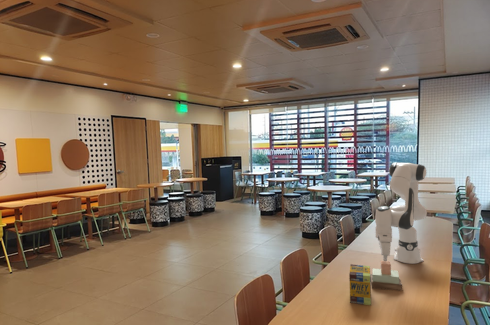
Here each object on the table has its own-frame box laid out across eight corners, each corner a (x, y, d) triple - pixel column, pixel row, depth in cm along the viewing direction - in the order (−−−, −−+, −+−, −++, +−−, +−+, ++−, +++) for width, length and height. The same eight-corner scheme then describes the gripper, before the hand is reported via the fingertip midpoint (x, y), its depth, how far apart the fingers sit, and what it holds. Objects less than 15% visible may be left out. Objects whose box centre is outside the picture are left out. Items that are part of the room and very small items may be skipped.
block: (380, 270, 192) (380, 260, 192) (389, 271, 191) (389, 261, 191) (381, 274, 188) (381, 263, 187) (390, 274, 186) (390, 264, 186)
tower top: (372, 274, 197) (372, 268, 197) (398, 277, 192) (397, 270, 192) (372, 281, 188) (372, 274, 188) (399, 284, 183) (399, 277, 182)
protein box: (349, 303, 170) (349, 274, 170) (351, 290, 185) (350, 263, 184) (371, 305, 167) (370, 276, 166) (370, 292, 181) (369, 265, 180)
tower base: (370, 280, 198) (370, 274, 198) (398, 282, 193) (398, 276, 193) (372, 289, 187) (371, 282, 186) (402, 291, 182) (402, 284, 182)
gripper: (376, 229, 199) (376, 251, 200) (379, 239, 179) (380, 264, 180) (387, 229, 197) (387, 252, 198) (392, 240, 177) (392, 264, 178)
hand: (384, 257), depth 189 cm, fingers open, 8 cm apart
